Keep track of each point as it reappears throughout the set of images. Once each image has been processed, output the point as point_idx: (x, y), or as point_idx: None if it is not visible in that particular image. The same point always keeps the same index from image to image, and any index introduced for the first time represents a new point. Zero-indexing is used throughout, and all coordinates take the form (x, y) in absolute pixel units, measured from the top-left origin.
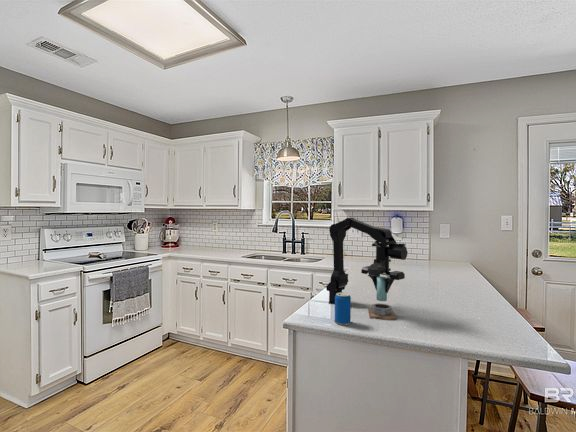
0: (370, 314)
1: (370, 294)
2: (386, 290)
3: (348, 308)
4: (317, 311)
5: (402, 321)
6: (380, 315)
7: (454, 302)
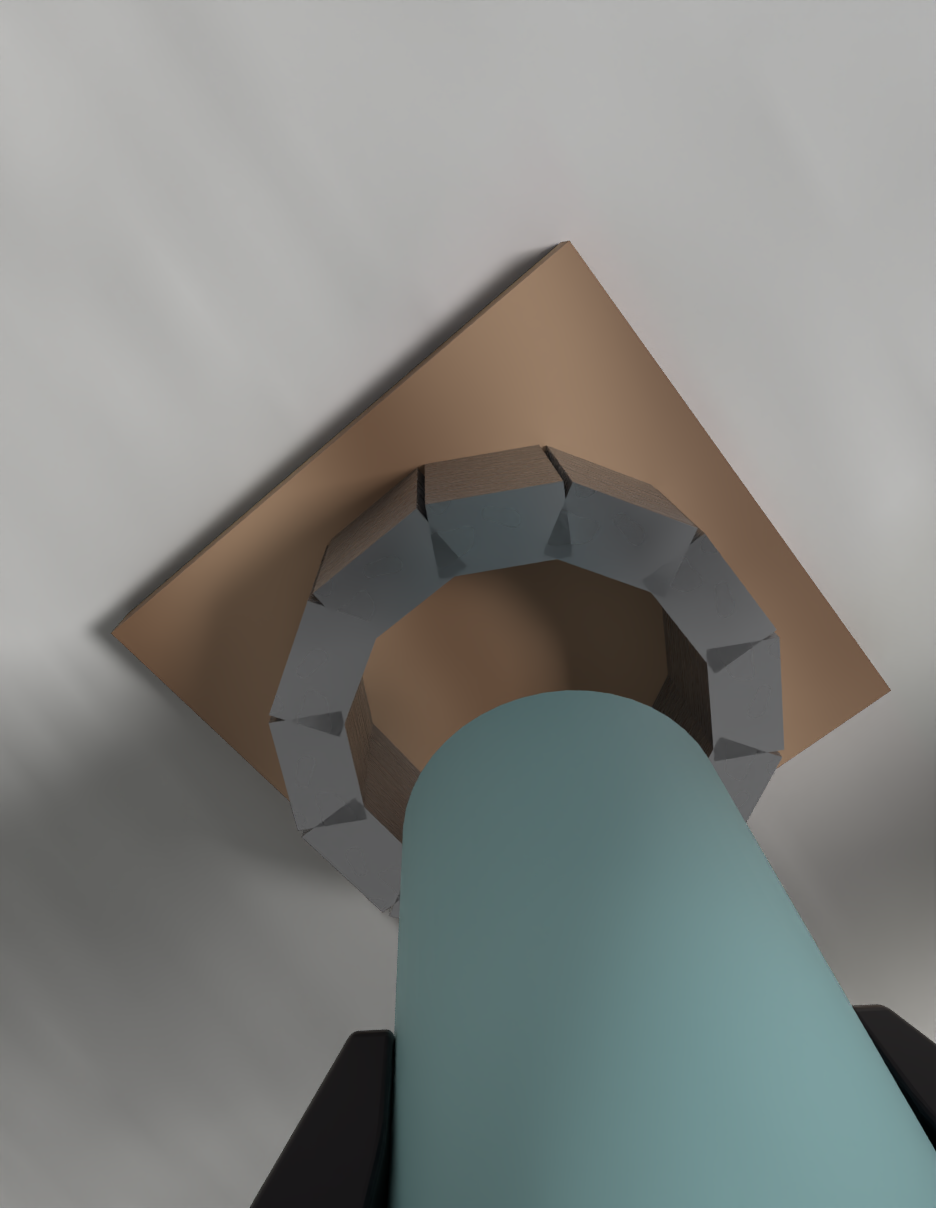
0: (627, 366)
1: None
2: (310, 1127)
3: None
4: None
5: (13, 653)
6: (412, 476)
7: None
